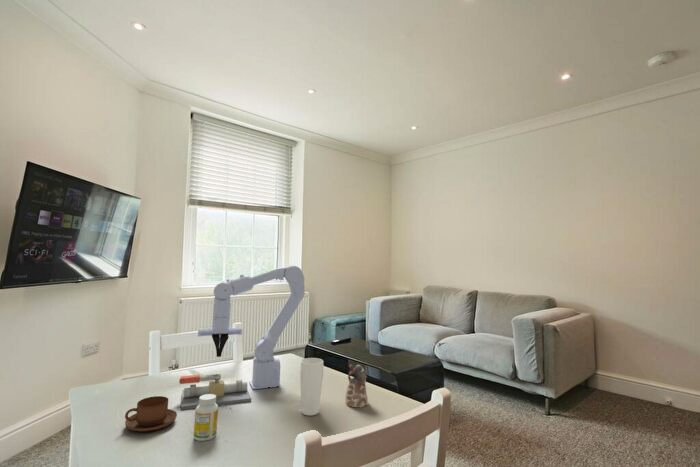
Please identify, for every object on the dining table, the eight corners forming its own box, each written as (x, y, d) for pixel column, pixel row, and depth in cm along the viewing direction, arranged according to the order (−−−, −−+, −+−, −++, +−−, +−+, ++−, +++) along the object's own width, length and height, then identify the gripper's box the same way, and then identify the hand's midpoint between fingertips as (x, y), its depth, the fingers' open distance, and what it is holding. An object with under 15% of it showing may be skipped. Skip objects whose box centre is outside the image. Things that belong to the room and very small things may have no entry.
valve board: (245, 386, 125) (245, 370, 126) (251, 401, 113) (252, 383, 113) (182, 393, 117) (183, 376, 118) (180, 409, 105) (182, 390, 105)
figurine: (365, 409, 110) (366, 368, 111) (343, 406, 111) (344, 366, 112) (369, 400, 117) (370, 362, 118) (347, 398, 118) (349, 360, 119)
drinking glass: (303, 419, 101) (305, 364, 102) (295, 410, 107) (297, 358, 108) (325, 415, 104) (327, 362, 106) (316, 406, 110) (318, 356, 112)
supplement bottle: (200, 443, 86) (202, 402, 87) (189, 436, 89) (192, 396, 90) (220, 436, 90) (223, 396, 91) (209, 429, 93) (212, 391, 94)
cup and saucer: (140, 441, 87) (142, 414, 87) (115, 427, 93) (117, 403, 94) (185, 423, 97) (187, 399, 97) (160, 412, 103) (162, 390, 104)
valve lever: (220, 378, 117) (220, 373, 117) (220, 380, 115) (221, 375, 115) (179, 381, 113) (180, 376, 113) (179, 384, 110) (179, 378, 110)
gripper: (241, 314, 133) (238, 352, 132) (199, 315, 127) (196, 354, 126) (243, 317, 127) (241, 356, 125) (199, 318, 121) (196, 359, 120)
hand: (218, 356), depth 125 cm, fingers closed
